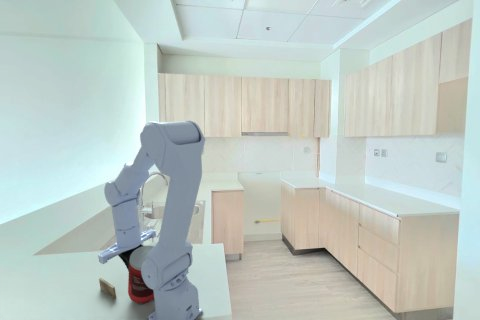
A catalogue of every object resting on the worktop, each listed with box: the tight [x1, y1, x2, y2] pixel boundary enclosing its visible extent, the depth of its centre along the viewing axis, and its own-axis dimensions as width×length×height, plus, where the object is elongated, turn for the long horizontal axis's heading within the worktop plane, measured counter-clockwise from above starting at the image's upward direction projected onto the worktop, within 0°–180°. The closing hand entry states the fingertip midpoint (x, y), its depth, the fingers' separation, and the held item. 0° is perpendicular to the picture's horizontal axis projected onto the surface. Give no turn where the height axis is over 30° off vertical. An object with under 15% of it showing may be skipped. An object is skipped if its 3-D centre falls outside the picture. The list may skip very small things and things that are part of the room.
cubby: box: [98, 277, 117, 299], centre depth 63 cm, size 7×10×3 cm
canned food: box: [127, 245, 155, 305], centre depth 56 cm, size 8×8×11 cm
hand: (133, 273), depth 60 cm, fingers closed, pressing on canned food
